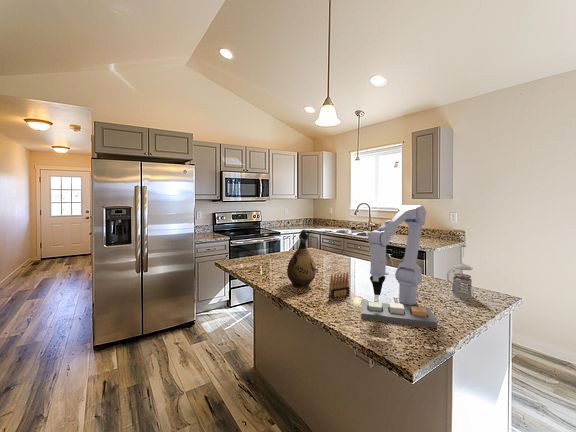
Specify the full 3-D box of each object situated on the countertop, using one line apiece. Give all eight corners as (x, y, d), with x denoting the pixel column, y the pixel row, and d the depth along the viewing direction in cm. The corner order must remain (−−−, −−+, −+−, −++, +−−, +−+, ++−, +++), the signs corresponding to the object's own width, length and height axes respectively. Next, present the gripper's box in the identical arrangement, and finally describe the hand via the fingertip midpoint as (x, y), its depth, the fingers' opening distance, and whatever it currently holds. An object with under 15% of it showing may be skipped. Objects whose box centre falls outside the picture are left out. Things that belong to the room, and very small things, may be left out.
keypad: (362, 307, 121) (362, 300, 121) (429, 315, 113) (429, 307, 113) (361, 321, 107) (361, 313, 107) (436, 330, 100) (437, 322, 100)
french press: (477, 299, 132) (479, 246, 131) (450, 297, 135) (452, 245, 133) (468, 292, 142) (470, 243, 141) (443, 290, 144) (445, 242, 143)
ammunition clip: (347, 295, 136) (347, 271, 135) (349, 297, 134) (350, 272, 133) (328, 299, 131) (329, 273, 130) (330, 300, 129) (331, 274, 129)
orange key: (410, 313, 111) (411, 306, 111) (424, 315, 110) (424, 307, 109) (412, 318, 106) (412, 310, 106) (427, 320, 105) (427, 312, 105)
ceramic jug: (316, 290, 144) (317, 232, 142) (286, 289, 144) (287, 231, 142) (314, 280, 161) (315, 228, 159) (287, 280, 161) (287, 228, 159)
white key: (389, 309, 113) (389, 302, 113) (402, 311, 112) (402, 304, 112) (390, 314, 109) (390, 307, 108) (403, 316, 107) (404, 308, 107)
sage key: (368, 308, 116) (368, 301, 116) (381, 310, 114) (381, 303, 114) (368, 313, 111) (368, 306, 111) (381, 315, 109) (382, 307, 109)
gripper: (387, 265, 103) (386, 302, 104) (390, 258, 117) (389, 290, 117) (367, 263, 106) (366, 299, 107) (372, 256, 119) (371, 288, 120)
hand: (377, 294), depth 112 cm, fingers closed
